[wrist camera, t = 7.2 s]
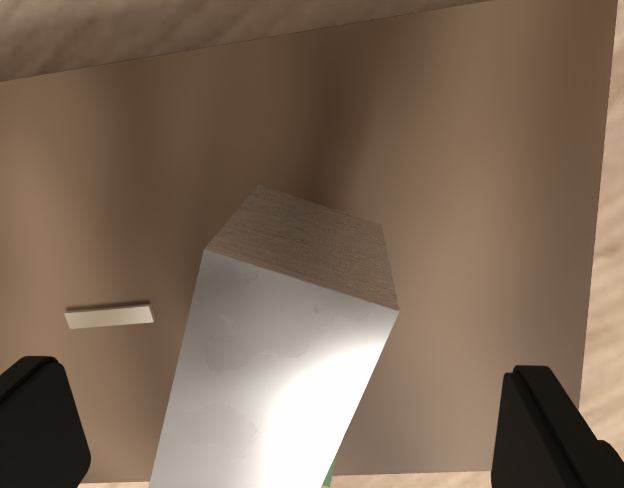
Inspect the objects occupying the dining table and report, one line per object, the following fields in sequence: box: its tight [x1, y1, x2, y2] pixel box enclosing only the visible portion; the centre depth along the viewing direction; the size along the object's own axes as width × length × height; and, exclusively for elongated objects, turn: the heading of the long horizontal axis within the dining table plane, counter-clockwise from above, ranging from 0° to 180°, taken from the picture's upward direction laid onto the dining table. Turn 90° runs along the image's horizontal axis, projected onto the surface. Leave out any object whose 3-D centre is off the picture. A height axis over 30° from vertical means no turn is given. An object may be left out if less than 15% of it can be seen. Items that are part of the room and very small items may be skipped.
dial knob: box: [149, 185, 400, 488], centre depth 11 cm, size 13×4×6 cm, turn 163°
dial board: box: [0, 0, 618, 487], centre depth 15 cm, size 26×15×2 cm, turn 98°
